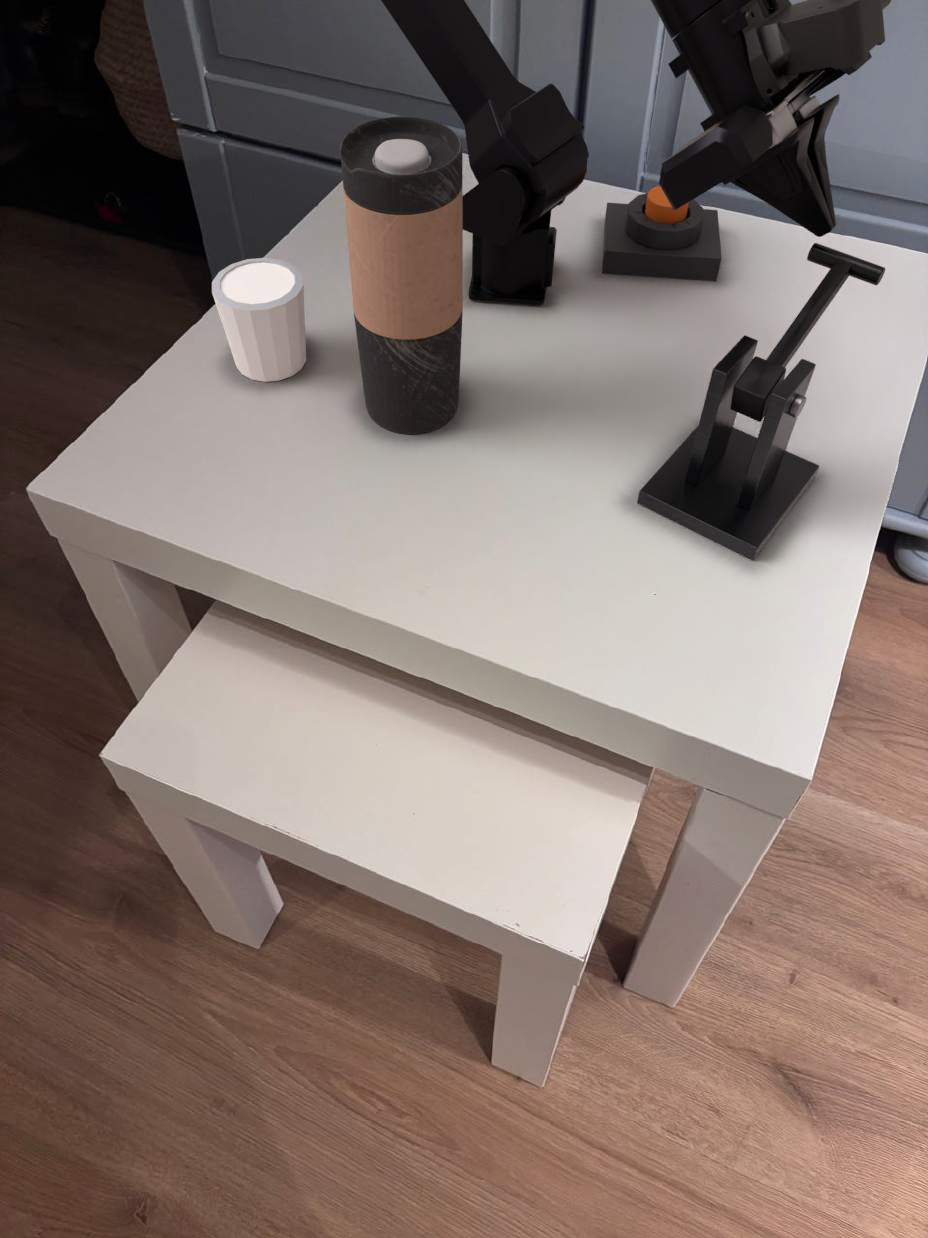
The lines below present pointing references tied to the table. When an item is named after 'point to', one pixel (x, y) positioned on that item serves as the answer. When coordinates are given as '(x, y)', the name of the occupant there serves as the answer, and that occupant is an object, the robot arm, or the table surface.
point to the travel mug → (406, 267)
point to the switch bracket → (736, 463)
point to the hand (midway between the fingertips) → (827, 231)
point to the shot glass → (263, 317)
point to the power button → (663, 208)
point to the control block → (661, 243)
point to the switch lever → (798, 330)
